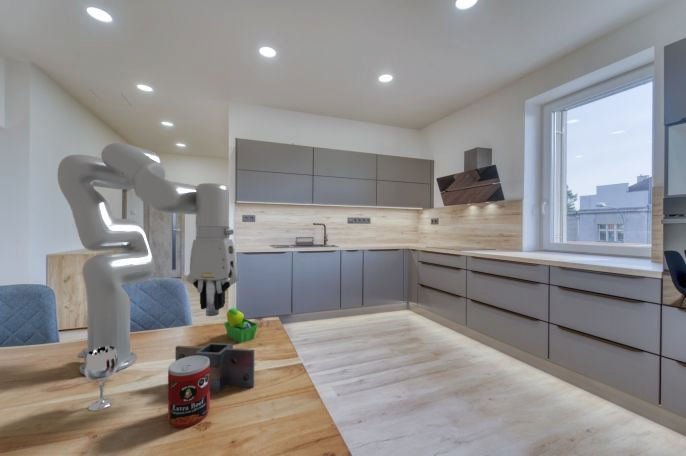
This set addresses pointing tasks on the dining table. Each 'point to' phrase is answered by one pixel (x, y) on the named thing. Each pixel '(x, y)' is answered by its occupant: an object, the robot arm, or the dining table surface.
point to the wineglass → (101, 371)
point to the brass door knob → (210, 295)
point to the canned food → (188, 391)
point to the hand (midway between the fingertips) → (212, 307)
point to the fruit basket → (239, 326)
